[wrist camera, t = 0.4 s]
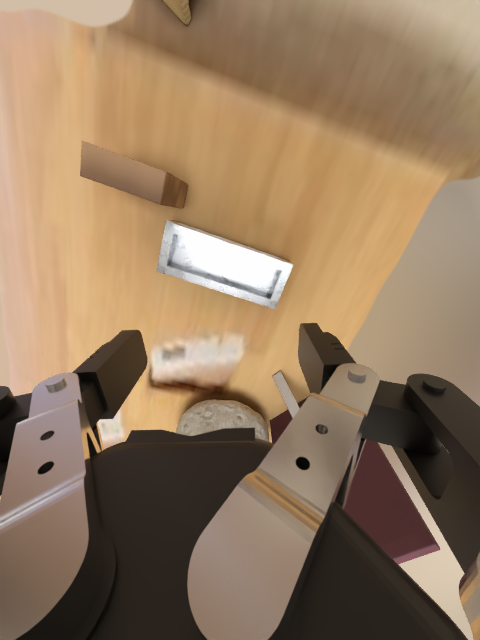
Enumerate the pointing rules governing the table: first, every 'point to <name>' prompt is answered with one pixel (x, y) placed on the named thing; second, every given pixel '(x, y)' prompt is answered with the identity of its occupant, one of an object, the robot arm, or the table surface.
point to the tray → (222, 264)
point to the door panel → (131, 176)
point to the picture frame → (373, 495)
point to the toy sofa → (180, 9)
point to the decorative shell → (221, 418)
